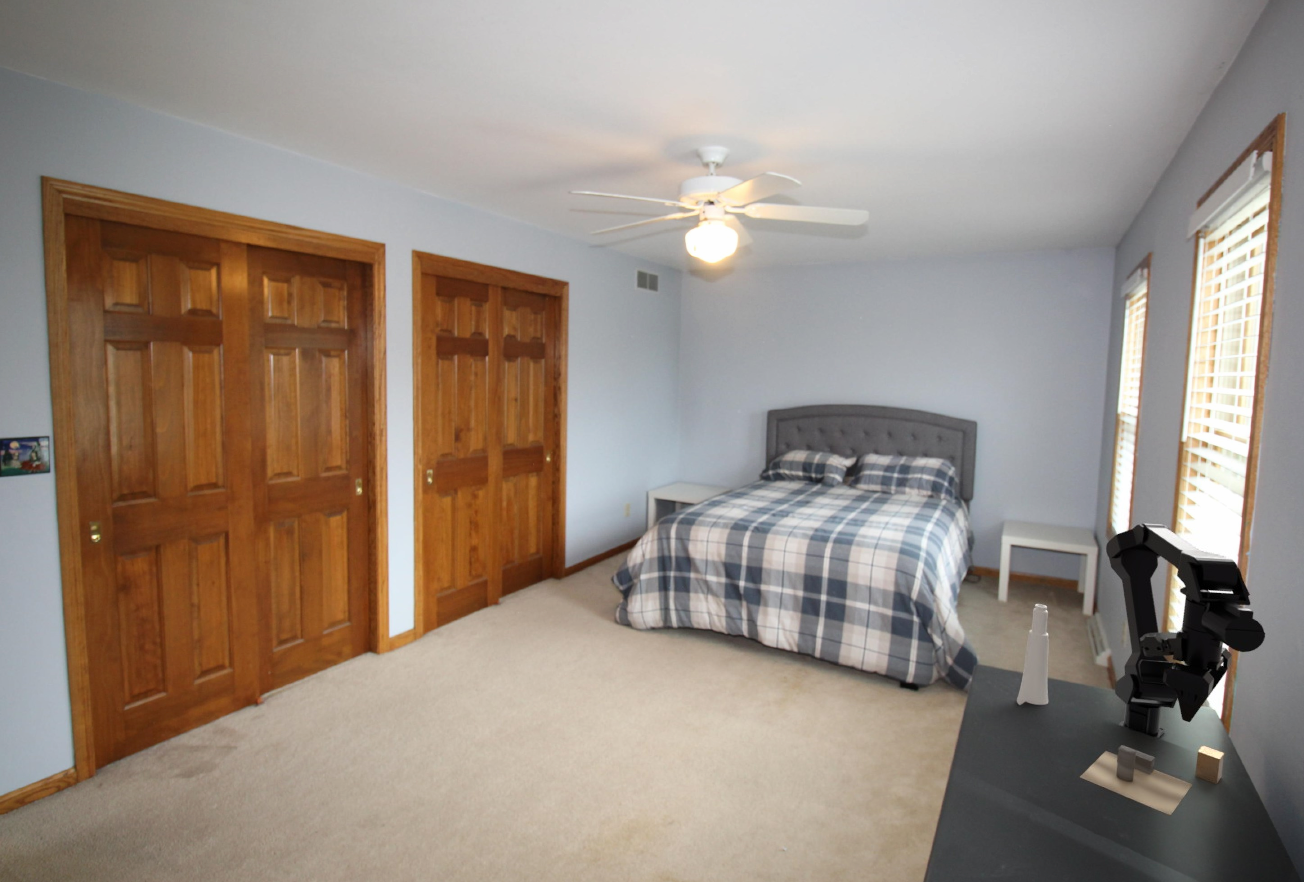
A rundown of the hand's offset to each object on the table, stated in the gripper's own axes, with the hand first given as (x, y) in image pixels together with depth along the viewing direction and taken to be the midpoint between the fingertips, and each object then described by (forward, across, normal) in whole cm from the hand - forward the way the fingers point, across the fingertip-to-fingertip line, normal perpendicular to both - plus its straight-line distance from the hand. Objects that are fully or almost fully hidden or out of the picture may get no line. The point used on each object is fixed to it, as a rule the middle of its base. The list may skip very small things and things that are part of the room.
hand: (1192, 712), depth 123 cm
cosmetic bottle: (+12, -6, -28) cm, 31 cm away
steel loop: (+12, +1, -1) cm, 12 cm away
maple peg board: (+12, +12, -5) cm, 18 cm away
